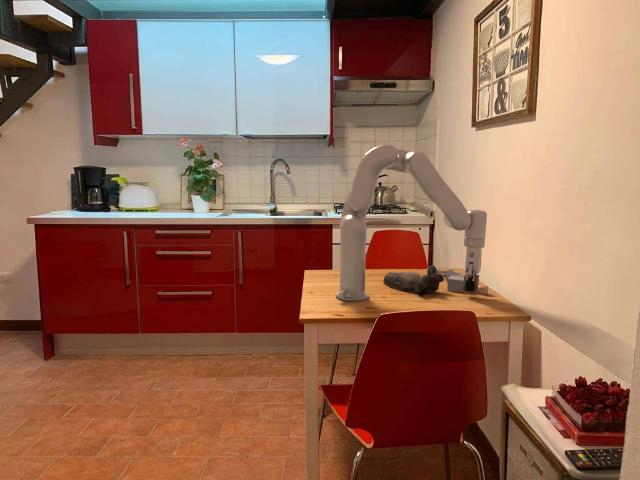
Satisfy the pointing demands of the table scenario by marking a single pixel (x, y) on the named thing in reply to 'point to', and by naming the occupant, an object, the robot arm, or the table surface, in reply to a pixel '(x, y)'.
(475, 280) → the brown metal block
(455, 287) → the grey block
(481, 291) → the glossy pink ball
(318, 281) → the table surface
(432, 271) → the headphones
